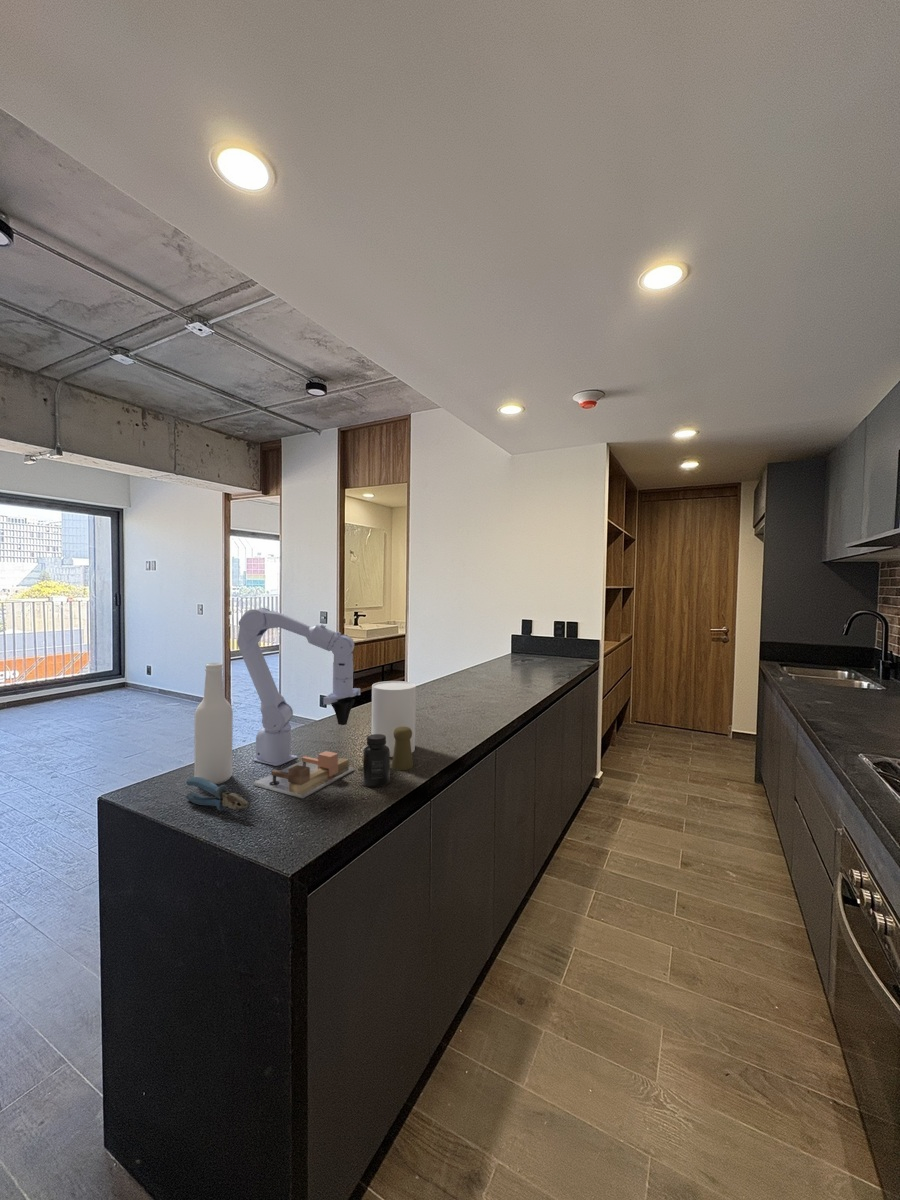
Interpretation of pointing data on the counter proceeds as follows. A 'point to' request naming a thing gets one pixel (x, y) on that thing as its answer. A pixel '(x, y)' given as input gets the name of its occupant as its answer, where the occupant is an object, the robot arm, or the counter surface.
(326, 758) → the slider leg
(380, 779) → the supplement bottle
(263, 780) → the flange plate
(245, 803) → the pliers
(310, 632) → the robot arm
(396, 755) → the cork
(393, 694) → the canister
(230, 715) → the alcohol
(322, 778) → the bar
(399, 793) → the counter surface
